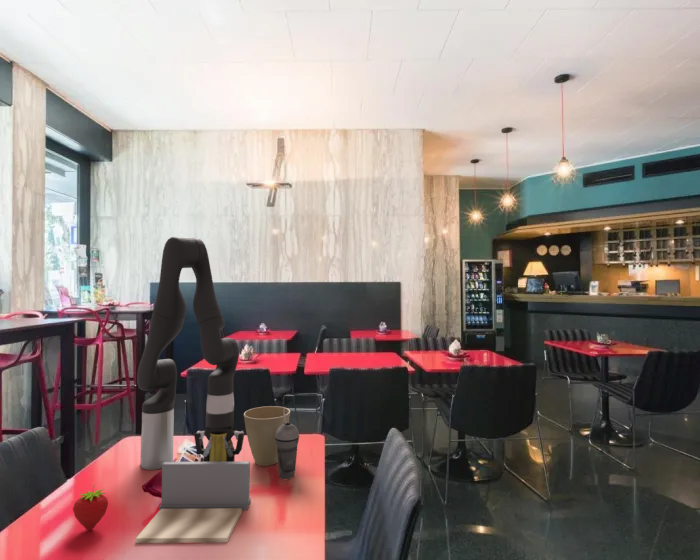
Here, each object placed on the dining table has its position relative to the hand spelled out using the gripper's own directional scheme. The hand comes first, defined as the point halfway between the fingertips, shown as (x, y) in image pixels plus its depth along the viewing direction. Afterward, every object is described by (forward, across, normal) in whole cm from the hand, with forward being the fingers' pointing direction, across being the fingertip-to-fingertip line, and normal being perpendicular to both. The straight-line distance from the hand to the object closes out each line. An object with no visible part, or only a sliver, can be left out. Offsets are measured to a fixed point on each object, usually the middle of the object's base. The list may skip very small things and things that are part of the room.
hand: (219, 468), depth 112 cm
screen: (+5, 0, -11) cm, 12 cm away
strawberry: (+5, -23, -20) cm, 31 cm away
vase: (+4, 0, 0) cm, 4 cm away
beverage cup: (+5, +18, +6) cm, 20 cm away
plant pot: (+5, +10, +17) cm, 21 cm away
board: (+5, 0, -20) cm, 20 cm away
